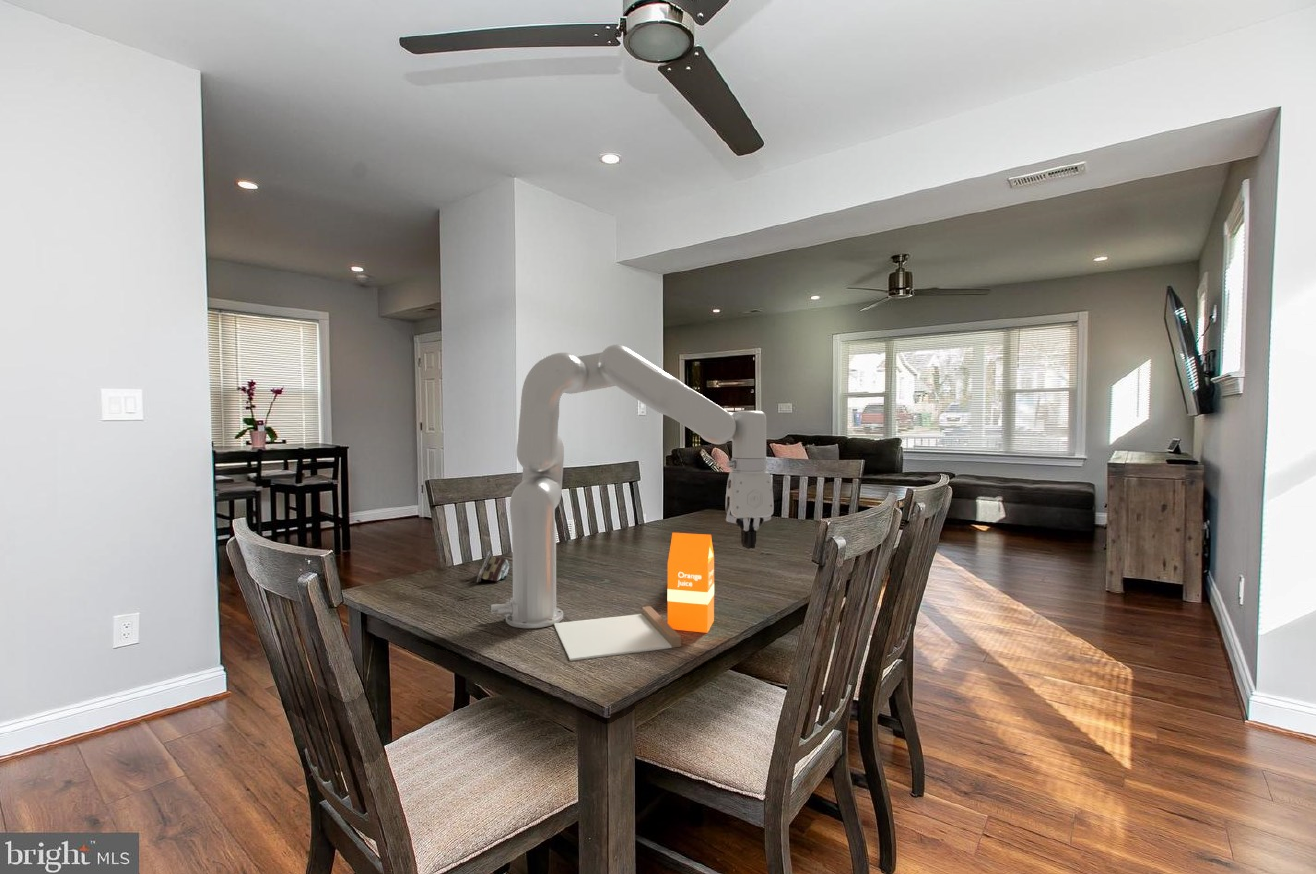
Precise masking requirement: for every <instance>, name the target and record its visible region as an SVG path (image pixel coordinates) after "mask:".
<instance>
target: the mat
mask: <svg viewBox="0 0 1316 874" xmlns="http://www.w3.org/2000/svg"><path fill="white" fill-rule="evenodd" d="M553 626H554V629H555V630H556V633H557V635H558V637H559V638H558V639H560V642H561V645H562V646H563V649H564V650H565V653H566V655H567V657H568V659H569V661H570V662H571V661H580V660H587V659H589V660H590V659H595V658H596V659H597V658H602V657H603V658H604V657H610V656H619V655H626V654H632V653H634V654H635V653H641V652H642V653H643V652H649V651H651V652H652V651H658V650H667V649H672V648H674V649H675V648H681V647H682V636H681V635H680V634H679V633H678V632H677V630H676V629H673V628H672V627H671V626H670V625H669V624H668V621H666V620H665V619H664V618H663V617H662V616H661V615H660V614H659V613H658V612H657V611H656V609H654V608H653V607H652V606H651V605H647V606H642V607H641V613H639V614H638V613H637V614H628V615H620V616H610V617H600V618H591V619H583V620H573V621H563V622H558V623H555V624H554V625H553Z"/></svg>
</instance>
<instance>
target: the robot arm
mask: <svg viewBox="0 0 1316 874" xmlns="http://www.w3.org/2000/svg"><path fill="white" fill-rule="evenodd" d="M612 387H617V388H618V389H620V390H622V391H623V392H625V393H626V394H628V395H630V396H631V397H633V398H635V399H636V400H637V401H639V402H641V403H643V404H644V405H645V406H647V407H649V408H650V409H652V410H654V411H655V412H657V413H659V414H662V415H664V416H666V417H669V418H671V419H673V420H675V421H676V422H678V423H680V424H681V425H683V426H684V427H686V428H688V429H690V431H692V432H694V433H696V434H697V435H698V436H700V437H701V438H702V439H703V440H704V441H705V442H708V443H711V444H714V445H723V444H726V443H728V442H732V443H731V445H732V447H731V451H732V452H731V453H732V454H731V455H732V457H731V460H728V461H727V462H726V467H727V468H730V469H731V471H729V473H728V478H727V483H726V484H727V485H726V491H725V492H726V494H725V513H726V517H725V521H726V522H728V523H730V524H731V523H732V524H735V525H736V526H737V527H738V528H739V529H740V543H741V546H742V547H744V548H745V549H747V550H749V549H755V548H756V543H757V531H758V530H759V528H760V526H761V525H762V524H763V523H764V522H768V521H770V520H772V515H773V514H774V507H775V506H774V505H775V504H774V492H773V491H774V490H773V483H772V477H771V473H770V471H767V415H766V413H765V412H763V411H762V410H737V411H727V410H726V409H724V408H723V407H721V406H720V405H718V404H716V402H713V401H712V400H710V399H709V398H707V397H705V396H704V395H703V394H701V393H699V392H697V391H696V390H694V389H693V388H691V387H690V386H688V385H686V384H685V383H683V382H682V381H680V380H679V379H678V378H676V377H675V376H672V375H671V374H670V373H668V372H666V371H664V370H663V369H662V368H660V367H658V366H657V365H656V364H654V363H652V361H651V362H650V361H649V360H647V359H646V358H645V357H643V356H641V355H640V354H638V353H636V352H635V351H633V350H632V349H630V348H629V347H627V346H625V345H622V344H611V345H609V346H607V347H606V348H604V349H603V351H601V352H598V353H591V354H585V355H579V356H576V355H575V354H572V353H569V352H557V353H553V354H551V355H547V356H545V357H544V358H542V359H540V360H539V361H537V362H536V363H535V364H534V365H533V366H532V368H531V369H530V370H529V371H528V372H527V375H526V377H525V379H524V381H523V385H522V389H521V395H520V396H521V398H520V408H519V411H520V412H519V420H518V430H517V432H518V435H517V444H516V457H517V458H516V459H517V461H518V463H519V464H520V466H521V467H522V479H521V482H519V483H518V484H517V485H516V486H515V488H514V489H513V490H512V493H511V495H510V496H511V497H510V501H509V515H510V516H509V517H510V524H511V539H512V540H511V541H512V542H511V545H512V547H511V548H512V549H511V550H512V551H511V552H512V597H510V600H509V601H506V602H505V603H501V604H500V603H495V604H494V603H493V604H491V614H497V616H504V615H505V623H506V624H507V625H508V626H511V627H514V628H517V629H518V628H519V629H540V628H541V629H542V628H545V627H546V628H547V627H550V626H554V624H555V623H561V621H562V620H563V619H564V611H563V610H562V609H560V608H559V607H557V534H556V532H557V531H556V515H555V512H556V508H557V507H558V506H559V503H560V502H561V498H562V489H563V475H564V461H565V459H564V457H565V449H564V448H565V447H564V443H563V441H562V438H561V437H560V436H559V418H560V401H561V397H562V395H563V394H564V393H565V394H569V395H570V394H571V395H573V394H578V393H579V394H580V393H585V392H589V391H596V390H601V389H606V388H612Z"/></svg>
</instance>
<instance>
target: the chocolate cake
mask: <svg viewBox="0 0 1316 874" xmlns="http://www.w3.org/2000/svg"><path fill="white" fill-rule="evenodd" d="M483 561H484V562H483V564H482V566H481V568H480V570H479V573H478V576H477V578H476V583H478V582H482V580H487V581H494V582H498V581H500V580H501V579H503V580H505V579H506V578H507V575H508V573H509V569H510V563H509V560H508V559H506V558H501V557H499V556H494V555H492V554H491V553H490V549H488V552H487V555H486V557H485V559H484V560H483Z"/></svg>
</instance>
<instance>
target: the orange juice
mask: <svg viewBox="0 0 1316 874" xmlns="http://www.w3.org/2000/svg"><path fill="white" fill-rule="evenodd" d="M712 540H713V539H712V534H702V533H700V534H699V533H683V532H672V534H671V542H670V547H669V553H668V559H667V623H668V624H669V625H670V626H671V627H672V628H673V629H674V630H675V631H677V630H679V631H688V632H697V633H698V632H699V633H706V634H708V632H709V631H710V629H711V627H712V625H713V623H714V621H715V555H714V554H715V553H714V547H713V541H712Z"/></svg>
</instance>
